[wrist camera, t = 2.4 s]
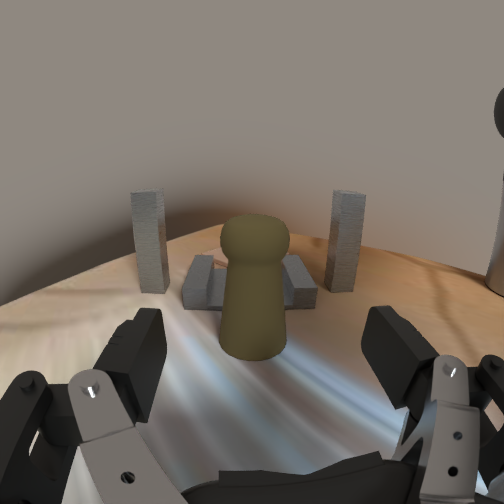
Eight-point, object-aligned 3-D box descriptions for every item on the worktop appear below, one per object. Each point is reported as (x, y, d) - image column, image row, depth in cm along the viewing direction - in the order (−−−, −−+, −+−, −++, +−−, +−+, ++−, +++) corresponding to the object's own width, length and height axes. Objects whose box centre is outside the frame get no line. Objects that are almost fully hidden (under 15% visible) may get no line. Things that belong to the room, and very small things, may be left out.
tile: (244, 243, 50) (244, 240, 50) (289, 256, 44) (289, 253, 44) (201, 256, 43) (201, 253, 43) (247, 275, 37) (247, 271, 37)
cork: (272, 369, 20) (281, 230, 16) (206, 348, 22) (197, 220, 19) (294, 329, 25) (305, 213, 22) (237, 315, 27) (237, 206, 24)
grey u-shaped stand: (363, 305, 29) (380, 200, 25) (132, 307, 28) (117, 197, 24) (336, 270, 39) (345, 188, 35) (155, 271, 37) (148, 186, 33)
